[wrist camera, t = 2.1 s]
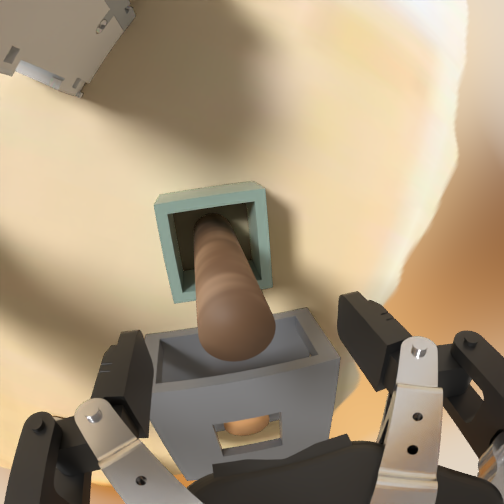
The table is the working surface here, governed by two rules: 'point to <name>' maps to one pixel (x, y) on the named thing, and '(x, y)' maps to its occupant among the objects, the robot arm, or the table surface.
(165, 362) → the gray open box frame
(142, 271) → the table surface
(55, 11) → the circuit breaker
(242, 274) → the brown rounded rod
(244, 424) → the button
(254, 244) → the holder
